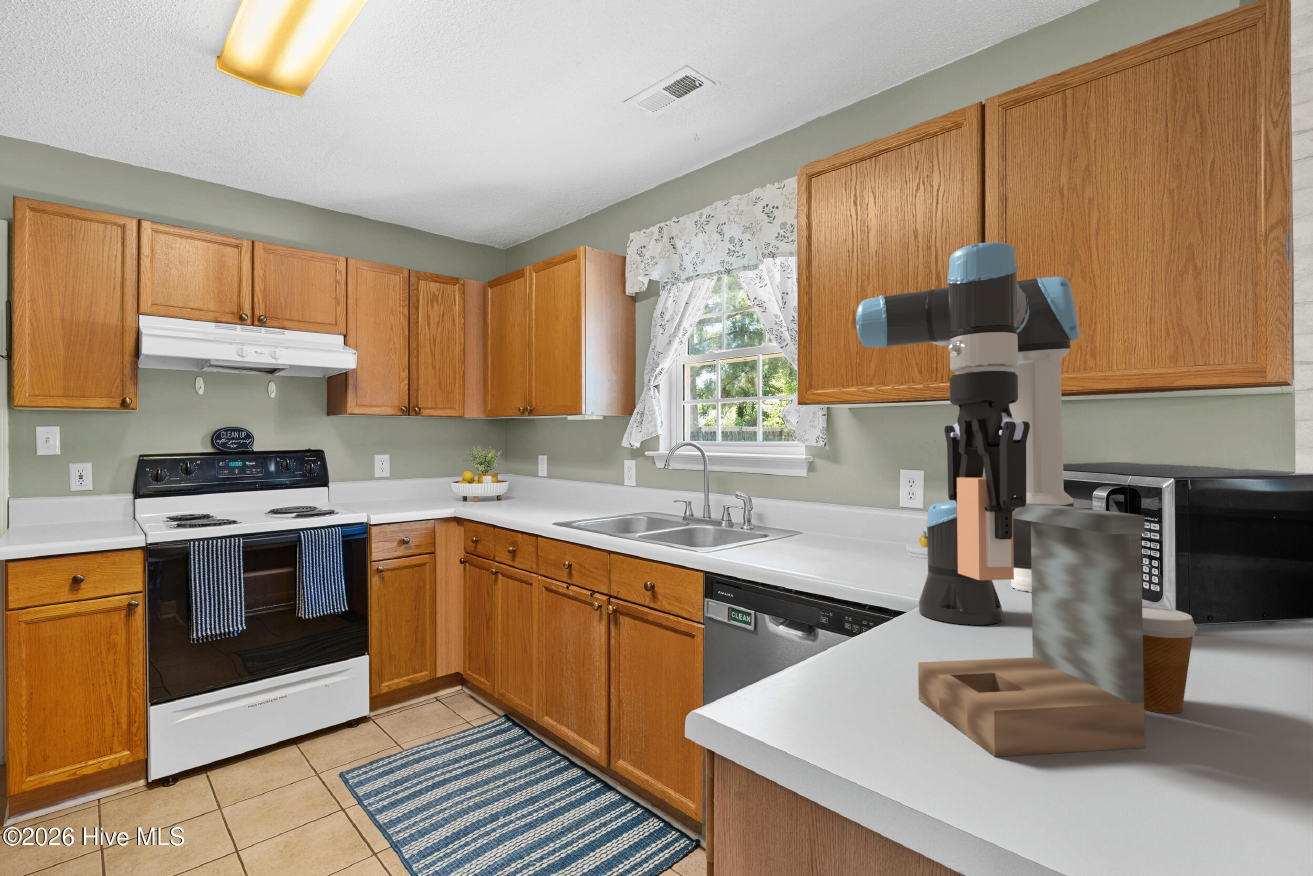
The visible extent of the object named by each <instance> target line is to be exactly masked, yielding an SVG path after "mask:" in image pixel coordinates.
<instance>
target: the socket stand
mask: <svg viewBox="0 0 1313 876" xmlns="http://www.w3.org/2000/svg"><path fill="white" fill-rule="evenodd" d="M1145 517H1146V516H1145V515H1142V514H1141V515H1140V514H1134V513H1125V512H1118V511H1117V512H1116V511H1109V510H1101V509H1100V510H1099V509H1093V508H1085V507H1084V508H1083V507H1076V506H1075V507H1067V506H1059V505H1050V504H1042V503H1026V506H1025V507H1019V508H1016V509H1015V511H1013V518H1014V519H1021V520H1027V521H1031V571H1032V593H1031V620H1032V621H1031V623H1032V625H1031V627H1032V628H1031V629H1032V630H1031V632H1032V639H1031V640H1032V656H1030V657H1011V658H1010V657H1009V658H991V659H990V658H988V659H984V658H983V659H972V660H971V659H965V660H964V659H963V660H944V661H943V660H941V661H922V662H921V661H919V662H918V661H917V663H918V664H917V665H918V666H917V667H918V668H917V669H918V674H917V675H918V679H917V680H918V701H919V700H920V701H919V702H921V701H922V702H923V703H924V704H923V703H922V702H921V703H922V704H923V705H924V706H926V707H927V706H928V707H927V708H928V709H930V708H931V709H932V712H934V713H935V712H936V714H937V715H938V716H939V715H940V716H939V717H941V718H942V717H943V718H944V719H943V718H942V719H943V720H945V719H946V720H947V721H948V722H947V721H946V720H945V721H946V722H947V723H949V724H950V725H951V724H952V726H953V727H954V728H955V729H957V730H958V731H959V732H961V733H962V734H963V735H965V736H966V737H967V738H969V739H970V740H972V741H973V742H974V743H976V744H977V745H978V746H980V747H981V748H982V749H984V750H985V751H986V752H987V753H989V754H990V755H991V756H993V757H994V758H996V757H997V758H999V757H1000V758H1001V757H1012V756H1014V757H1015V756H1016V757H1017V756H1030V755H1045V754H1046V755H1047V754H1060V753H1076V752H1078V753H1079V752H1094V751H1107V750H1111V751H1112V750H1126V749H1141V748H1143V749H1144V748H1145V710H1144V680H1143V622H1142V605H1143V572H1142V571H1143V570H1142V568H1143V567H1142V564H1143V563H1142V534H1145V533H1146V531H1145V530H1146V528H1145V527H1146V524H1145V519H1146V518H1145ZM931 709H930V710H931Z"/></svg>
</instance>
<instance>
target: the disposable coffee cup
mask: <svg viewBox="0 0 1313 876" xmlns="http://www.w3.org/2000/svg"><path fill="white" fill-rule="evenodd" d="M1142 622H1143V680H1144V711H1147V712H1154V713H1161V714H1177V713H1181V712H1182V711H1183V709H1184V708H1183V707H1184V699H1185V693H1186V686H1187V679H1188V673H1189V672H1188V671H1189V667H1190V666H1189V664H1190V657H1191V650H1192V643H1193V637H1194V636H1195V635H1196V632H1197V631H1198V626H1197V625H1196V624H1195V622H1194V618H1193V617H1192V615H1191V614H1189V613H1186V612H1183V611H1180V610H1177V609H1173V608H1167V607H1163V606H1154V605H1148V604H1147V605H1145V604H1142Z"/></svg>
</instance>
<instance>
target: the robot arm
mask: <svg viewBox="0 0 1313 876" xmlns="http://www.w3.org/2000/svg"><path fill="white" fill-rule="evenodd" d="M1018 268H1019V266H1018V265H1017V255H1016V250H1015V248H1014V246H1013V245H1011V244H1009V243H1006V242H1000V241H999V242H998V241H990V242H988V241H987V242H981V243H974V244H970V245H967V246H964V247H961V248H959V249H957V250H955V251H954V252H953V253H952V254H951V255H950V257H949V260H948V273H947V275H948V276H947V278H946V282H947V283H948V286H947V287H939V288H932V289H927V290H919V291H914V292H913V291H912V292H904V293H898V294H890V295H879V296H877V297H872V298H871V297H870V298H867V299H863V300H862V301H860V303H859V305H858V307H857V310H856V317H855V326H856V332H857V336H858V339H859V341H860V343H861V344H862V346H864V347H866V348H868V349H871V348H872V349H874V348H882V349H884V348H890V347H900V346H909V345H910V346H911V345H918V344H919V345H920V344H927V343H932V344H934V345H937V346H940V347H948V352H949V370H950V371H951V372H953V373H954V374H953V375H951V377H950V378H949V402H950V404H951V405H953V406H958V408H959V412H958V416H957V418H956V419H957V421H956V423H955V424H953V425H945V426H944V435H945V440H946V448H947V449H946V455H947V456H946V459H947V496H948V501H941V502H940V501H939V502H935V503H933V504H931V505H930V506H929V508H928V511H927V521H926V522H927V524H926V525H925V527H926V528H927V531H926V534H927V538H926V539H927V545H926V546H927V576H926V579H925V582H924V585H923V589H922V591H921V594H920V598H919V599H918V611H919V613H920V614H921V616H923V617H926V618H928V619H932V620H935V621H939V622H943V621H944V623H949V622H950V624H958V625H959V624H960V625H968V624H970V626H973V625H974V626H981V625H982V626H983V625H985V626H986V624H987V625H993V624H999V623H1000V622H1002V621H1003V608H1002V605H1001V601H1000V599H999V596H998V592H997V590H996V588H995V584H994V582H993V581H994V580H977V579H974V578H971V577H968V576H965V575H962V574H958V538H957V478H960V477H986V483H987V489H988V496H989V502H990V506H988V507H984V508H985V510H986V511H985V518H986V566H987V567H1011V538H1012V512H1013V511H1015V509H1016V508H1019V507H1025V506H1026V503H1042V504H1050V505H1059V506H1067V507H1074V506H1075V505H1074V504H1075V502H1074V501H1075V500H1074V498H1073V497H1071V496H1070V495H1069V494H1068V493H1067V492H1066V491H1065V490H1064V489H1065V488H1064V452H1063V451H1064V449H1063V448H1064V447H1063V445H1064V444H1063V411H1062V410H1063V409H1062V407H1063V405H1062V369H1061V368H1062V364H1061V362H1062V359H1063V358H1065V357H1066V355H1068V354H1069V352H1071V341H1073V342H1074V341H1076V340H1079V338H1080V337H1081V334H1080V328H1079V326H1080V325H1079V319H1078V314H1077V308H1076V304H1075V299H1074V293H1073V290H1072V285H1071V284H1070V281H1069V280H1068V279H1067V278H1066V277H1063V276H1050V277H1036V278H1030V279H1024V280H1018V279H1017V271H1018ZM984 475H985V476H984ZM999 499H1000V500H999ZM1013 552H1014V568H1020V569H1030V570H1031V521H1027V520H1021V519H1014V518H1013Z"/></svg>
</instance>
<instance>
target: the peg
mask: <svg viewBox="0 0 1313 876" xmlns="http://www.w3.org/2000/svg"><path fill="white" fill-rule="evenodd" d="M999 500H1000V499H999ZM988 506H990V502H989V496H988V489H987V483H986V476H983V477H960V478H957V538H958V574H962V575H965V576H968V577H971V578H974V579H977V580H992V581H994V580H995V581H1001V580H1002V581H1004V580H1010V581H1011V579H1014V552H1013V512H1012V538H1011V567H987V566H986V518H985V511H986V510H985V508H984V507H988Z"/></svg>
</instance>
